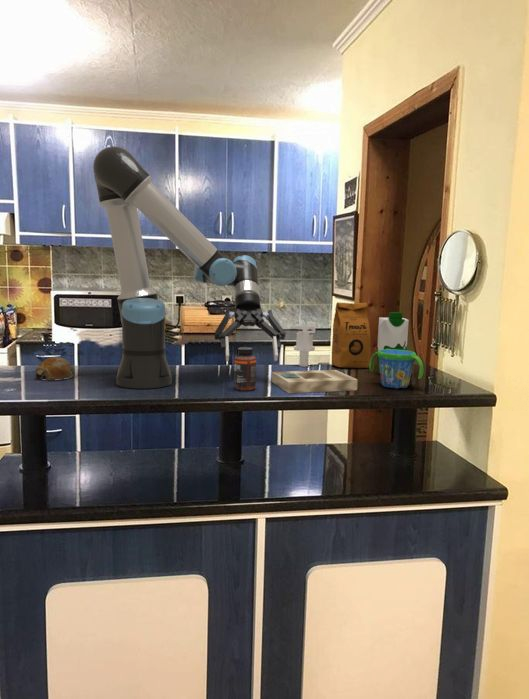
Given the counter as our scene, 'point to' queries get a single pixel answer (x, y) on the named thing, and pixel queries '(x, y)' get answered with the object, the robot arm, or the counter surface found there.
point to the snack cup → (396, 367)
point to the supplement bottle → (245, 369)
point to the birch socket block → (314, 381)
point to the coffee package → (351, 336)
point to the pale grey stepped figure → (304, 342)
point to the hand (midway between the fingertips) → (252, 358)
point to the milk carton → (392, 333)
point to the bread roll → (54, 369)
